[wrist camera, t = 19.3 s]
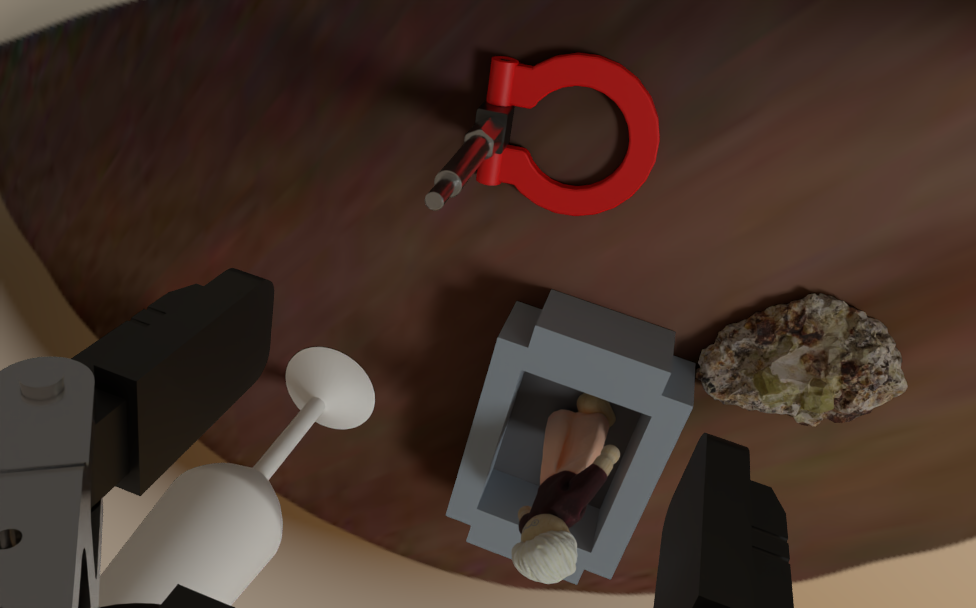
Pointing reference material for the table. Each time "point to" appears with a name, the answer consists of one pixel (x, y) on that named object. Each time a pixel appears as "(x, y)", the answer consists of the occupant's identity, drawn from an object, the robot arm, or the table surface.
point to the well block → (557, 385)
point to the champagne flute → (233, 499)
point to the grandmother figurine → (565, 488)
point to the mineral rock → (804, 362)
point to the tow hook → (516, 164)
